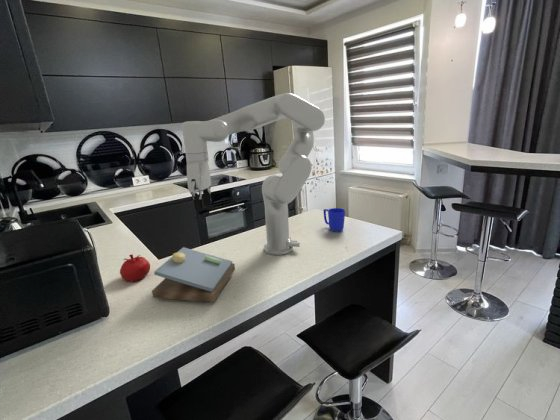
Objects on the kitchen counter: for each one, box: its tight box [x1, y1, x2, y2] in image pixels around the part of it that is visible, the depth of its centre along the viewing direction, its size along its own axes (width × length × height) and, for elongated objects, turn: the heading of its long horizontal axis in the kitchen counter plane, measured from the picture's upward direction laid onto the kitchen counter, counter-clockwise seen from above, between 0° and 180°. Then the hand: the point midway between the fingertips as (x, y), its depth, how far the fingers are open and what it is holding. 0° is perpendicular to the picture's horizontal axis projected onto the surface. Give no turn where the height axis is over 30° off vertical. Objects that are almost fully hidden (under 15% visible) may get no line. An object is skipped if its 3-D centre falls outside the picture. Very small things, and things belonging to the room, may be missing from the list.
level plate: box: [153, 246, 233, 292], centre depth 96 cm, size 19×18×3 cm
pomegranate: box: [119, 253, 151, 283], centre depth 106 cm, size 10×10×9 cm
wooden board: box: [151, 262, 236, 303], centre depth 98 cm, size 20×20×4 cm
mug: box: [323, 207, 346, 232], centre depth 144 cm, size 8×12×10 cm
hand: (203, 206), depth 108 cm, fingers open, 6 cm apart
